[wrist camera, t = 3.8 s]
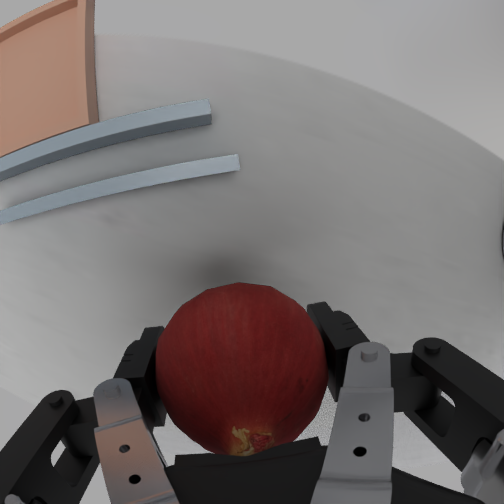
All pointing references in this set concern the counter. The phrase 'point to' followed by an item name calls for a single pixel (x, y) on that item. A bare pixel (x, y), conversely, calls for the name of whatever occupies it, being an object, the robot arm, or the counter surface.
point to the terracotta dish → (47, 74)
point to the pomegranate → (241, 369)
